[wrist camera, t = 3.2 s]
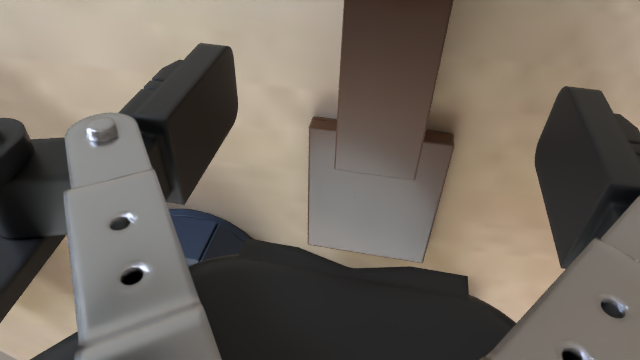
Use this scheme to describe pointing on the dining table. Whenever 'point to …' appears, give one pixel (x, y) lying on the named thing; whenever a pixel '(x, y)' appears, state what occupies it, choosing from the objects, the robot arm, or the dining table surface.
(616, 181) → the robot arm
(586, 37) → the dining table surface
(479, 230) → the dining table surface
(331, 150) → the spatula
